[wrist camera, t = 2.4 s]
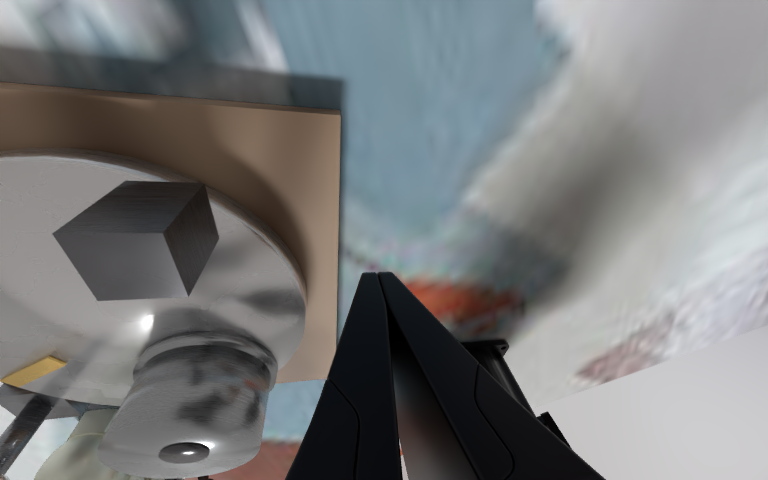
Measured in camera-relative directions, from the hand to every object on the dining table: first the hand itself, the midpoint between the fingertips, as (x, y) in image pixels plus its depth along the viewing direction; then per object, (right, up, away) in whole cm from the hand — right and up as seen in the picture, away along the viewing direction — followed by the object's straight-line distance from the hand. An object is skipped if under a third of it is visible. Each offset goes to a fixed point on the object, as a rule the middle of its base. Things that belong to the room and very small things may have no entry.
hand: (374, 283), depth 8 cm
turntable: (-12, -2, +6) cm, 14 cm away
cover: (-9, -6, +8) cm, 14 cm away
